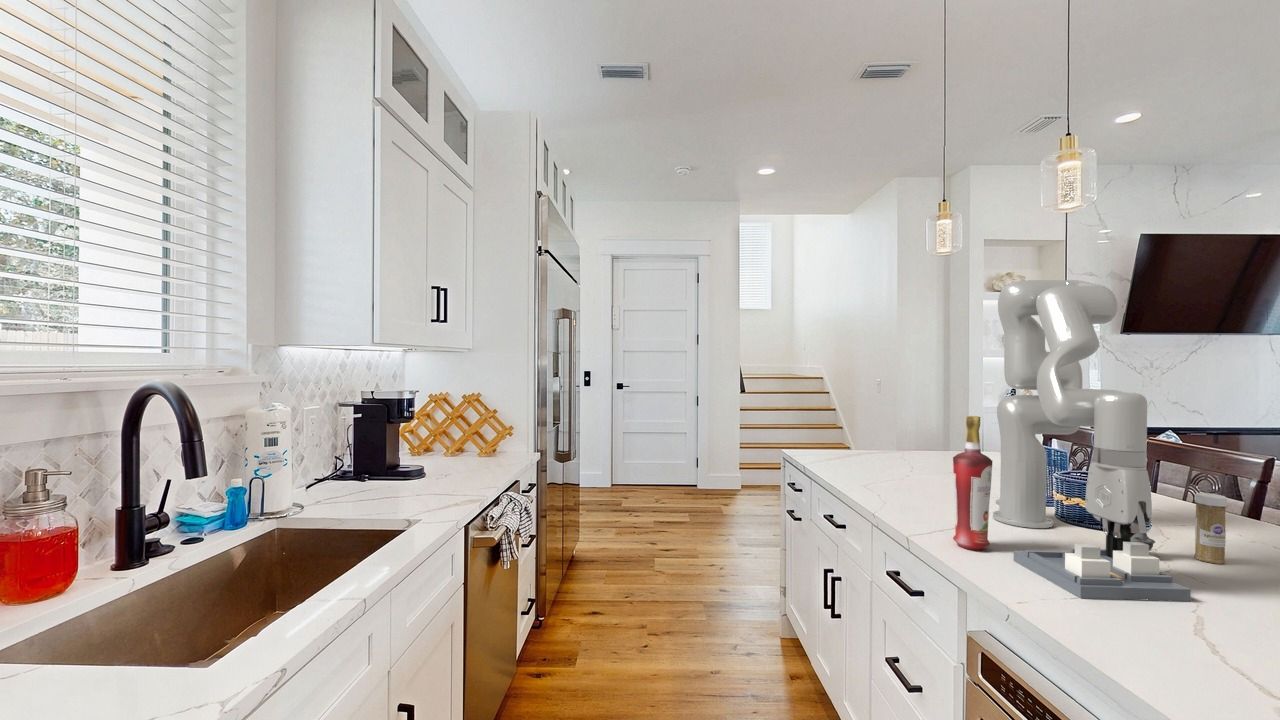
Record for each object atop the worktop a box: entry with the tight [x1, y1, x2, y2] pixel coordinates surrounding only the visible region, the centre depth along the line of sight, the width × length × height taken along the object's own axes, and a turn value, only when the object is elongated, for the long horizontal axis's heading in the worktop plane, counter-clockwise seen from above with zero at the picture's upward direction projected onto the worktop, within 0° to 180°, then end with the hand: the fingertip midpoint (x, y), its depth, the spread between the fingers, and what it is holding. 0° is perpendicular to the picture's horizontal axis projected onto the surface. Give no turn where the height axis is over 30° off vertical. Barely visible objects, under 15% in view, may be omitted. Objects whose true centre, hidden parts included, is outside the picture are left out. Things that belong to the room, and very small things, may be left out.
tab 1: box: [1065, 543, 1110, 578], centre depth 99 cm, size 4×5×6 cm
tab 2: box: [1113, 542, 1160, 575], centre depth 101 cm, size 4×5×6 cm
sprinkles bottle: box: [1193, 492, 1228, 565], centre depth 115 cm, size 5×5×14 cm
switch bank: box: [1013, 547, 1192, 602], centre depth 104 cm, size 18×18×3 cm
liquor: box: [952, 415, 993, 551], centre depth 122 cm, size 7×7×28 cm
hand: (1117, 557), depth 105 cm, fingers closed
